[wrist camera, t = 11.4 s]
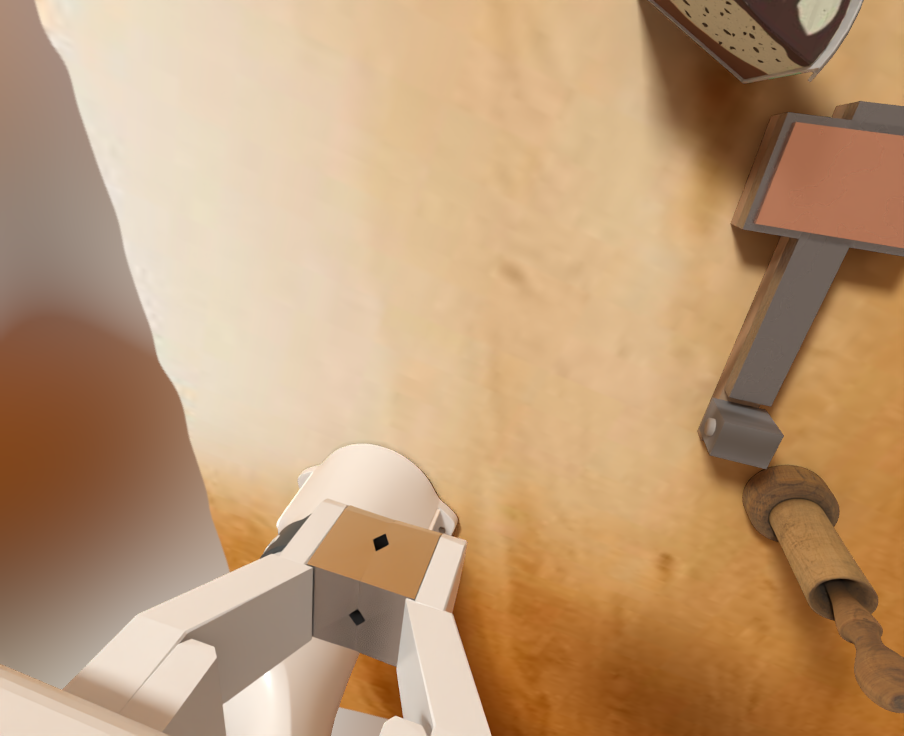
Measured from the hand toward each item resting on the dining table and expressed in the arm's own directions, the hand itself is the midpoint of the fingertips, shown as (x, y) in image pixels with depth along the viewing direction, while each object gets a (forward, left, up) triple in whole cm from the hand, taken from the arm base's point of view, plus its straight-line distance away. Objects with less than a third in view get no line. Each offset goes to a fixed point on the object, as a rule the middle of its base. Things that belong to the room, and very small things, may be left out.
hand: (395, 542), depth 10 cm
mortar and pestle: (-17, -25, -33) cm, 45 cm away
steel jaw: (+2, -18, -32) cm, 36 cm away
